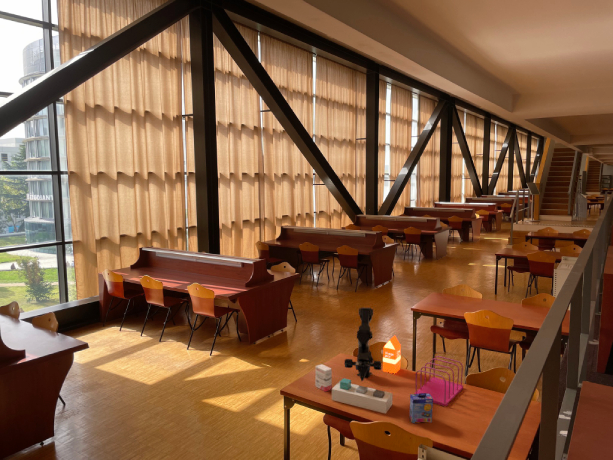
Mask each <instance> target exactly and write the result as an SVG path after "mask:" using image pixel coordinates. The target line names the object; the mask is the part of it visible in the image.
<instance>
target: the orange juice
mask: <svg viewBox="0 0 613 460" xmlns="http://www.w3.org/2000/svg"><path fill="white" fill-rule="evenodd" d="M401 347H402V345H401V343H400V342H399V340H398V338H397V336H396V335H394V336H392V337H391V338H390V339H388V341H387V342H386V344H384V346H383V347H382V349H383V351H382V352H383V353H382V372H384V373H388V372H389V373H388V374H392V373H394V374H393V375H396V374H397V373H398V372H399V371H400V370H401V353H402V351H401V350H402V348H401ZM395 373H396V374H395Z"/></svg>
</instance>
